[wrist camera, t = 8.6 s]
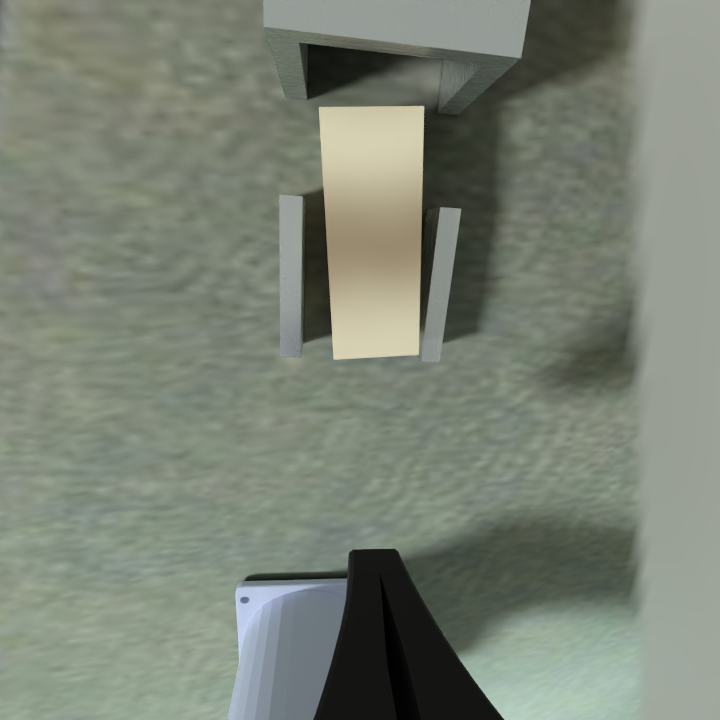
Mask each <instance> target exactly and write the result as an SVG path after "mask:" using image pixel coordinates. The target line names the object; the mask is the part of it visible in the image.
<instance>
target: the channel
mask: <svg viewBox="0 0 720 720" xmlns="http://www.w3.org/2000/svg"><path fill="white" fill-rule="evenodd" d="M279 200H280V357H301V352H302V347H303V331H304V267H305V204H306V201H305V199H304V198H303V196H290V195H279ZM460 215H461V209H458V208H445V207H439V208H434V209H429V210H426V218H425V227H424V236H423V244H422V253H421V275H420V320H419V355H417V357H418V358H419V359H420V361H421V362H440V356H441V349H442V342H443V335H444V328H445V321H446V314H447V307H448V300H449V292H450V285H451V278H452V271H453V264H454V257H455V250H456V243H457V236H458V229H459V222H460Z"/></svg>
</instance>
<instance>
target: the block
mask: <svg viewBox="0 0 720 720" xmlns="http://www.w3.org/2000/svg"><path fill="white" fill-rule="evenodd" d="M263 1H264V29H265V32H266V35H267V38H268V42H269V45H270V48H271V52H272V55H273V58H274V61H275V65H276V68H277V71H278V75H279V78H280V81H281V84H282V88H283V91H284V94H285V97H288V98H298V99H307V76H308V44H316V45H324V46H332V47H341V48H349V49H358V50H366V51H374V52H383V53H391V54H400V55H408V56H416V57H425V58H433V59H442V60H443V68H442V77H441V86H440V94H439V103H438V112H437V113H442V114H452V115H458V114H459V113H460V112H461V111H463V110H464V109H465V108H466V107H467V106H468V105H469V104H470V103H471V102H473V101H474V100H475V99H476V98H477V97H478V96H479V95H480V94H482V93H483V92H484V91H485V90H486V89H487V88H488V87H489V86H490V85H492V84H493V83H494V82H495V81H496V80H497V79H498V78H499V77H500V76H502V75H503V74H504V73H505V72H506V71H507V70H508V69H509V68H511V67H512V66H513V65H514V64H515V63H516V62H517V61H518V60H519V59H521V55H522V50H523V44H524V38H525V32H526V26H527V20H528V14H529V8H530V2H531V0H263Z"/></svg>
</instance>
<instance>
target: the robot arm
mask: <svg viewBox="0 0 720 720" xmlns="http://www.w3.org/2000/svg"><path fill="white" fill-rule="evenodd" d="M236 610H237V627H238V643H239V665H238V670H237V675H236V680H235V685H234V690H233V694H232V699H231V704H230V709H229V714H228V719H227V720H504V719H503V718H502V716H501V715H500V714H499V713H498V711H497V710H496V709H495V707H494V706H493V705H492V704H491V702H490V701H489V700H488V698H487V697H486V696H485V694H484V693H483V692H482V690H481V689H480V688H479V686H478V685H477V684H476V682H475V681H474V679H473V678H472V677H471V675H470V674H469V672H468V671H467V670H466V668H465V667H464V665H463V664H462V662H461V661H460V660H459V658H458V656H457V655H456V653H455V652H454V650H453V649H452V647H451V646H450V644H449V643H448V641H447V640H446V638H445V637H444V635H443V633H442V632H441V630H440V629H439V627H438V625H437V624H436V622H435V620H434V619H433V617H432V615H431V614H430V612H429V610H428V609H427V607H426V605H425V604H424V602H423V600H422V598H421V596H420V595H419V593H418V591H417V589H416V587H415V585H414V584H413V582H412V580H411V578H410V576H409V574H408V572H407V570H406V568H405V566H404V564H403V562H402V559H401V557H400V555H399V553H398V551H397V550H396V549H362V550H352V551H351V552H350V553H349V561H348V575H347V578H345V579H308V580H271V581H244V582H241V583H239V584H238V585H237V589H236Z"/></svg>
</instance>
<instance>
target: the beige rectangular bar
mask: <svg viewBox="0 0 720 720" xmlns="http://www.w3.org/2000/svg"><path fill="white" fill-rule="evenodd" d="M319 117H320V134H321V151H322V169H323V186H324V203H325V220H326V237H327V254H328V271H329V288H330V305H331V322H332V339H333V356H334V360H336V359H353V358H370V357H387V356H405V355H419V320H420V275H421V229H422V184H423V138H424V106H380V107H319Z"/></svg>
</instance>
